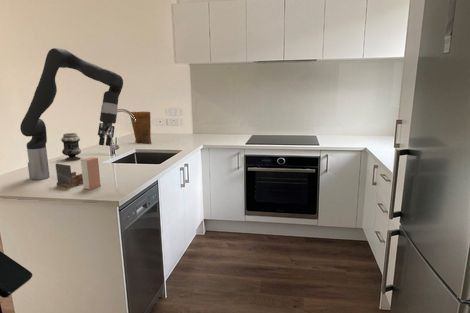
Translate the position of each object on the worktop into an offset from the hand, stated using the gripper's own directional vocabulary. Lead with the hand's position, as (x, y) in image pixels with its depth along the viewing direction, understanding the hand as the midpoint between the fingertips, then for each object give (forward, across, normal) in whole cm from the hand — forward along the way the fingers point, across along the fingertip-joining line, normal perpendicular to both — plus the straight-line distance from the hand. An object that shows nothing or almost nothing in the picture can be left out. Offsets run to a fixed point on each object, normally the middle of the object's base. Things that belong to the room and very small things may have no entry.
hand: (104, 145), depth 166 cm
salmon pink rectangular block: (+22, -8, -6) cm, 24 cm away
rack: (+22, -14, -19) cm, 32 cm away
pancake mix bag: (-5, -131, -17) cm, 133 cm away
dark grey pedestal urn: (+13, -70, -48) cm, 86 cm away
